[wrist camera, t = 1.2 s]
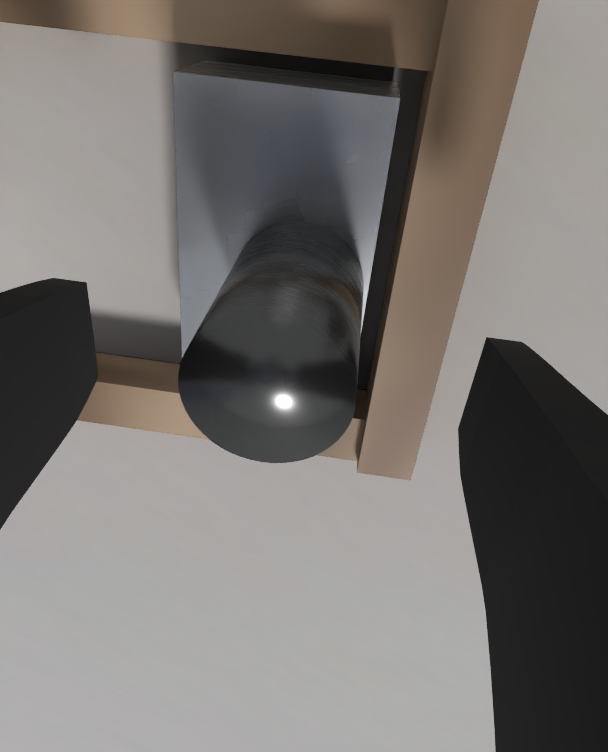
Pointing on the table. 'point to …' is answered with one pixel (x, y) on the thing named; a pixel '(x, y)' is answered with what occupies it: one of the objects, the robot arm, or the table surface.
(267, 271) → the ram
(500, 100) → the wooden tray
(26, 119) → the table surface
